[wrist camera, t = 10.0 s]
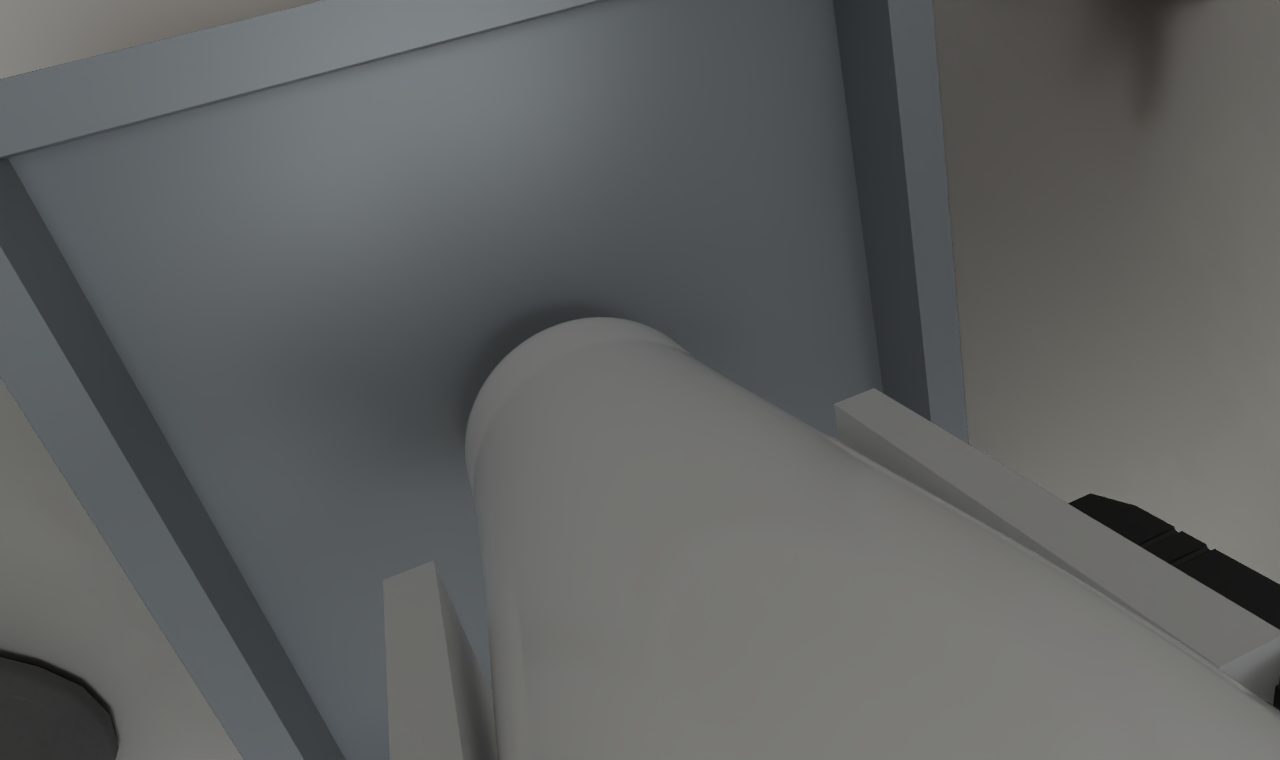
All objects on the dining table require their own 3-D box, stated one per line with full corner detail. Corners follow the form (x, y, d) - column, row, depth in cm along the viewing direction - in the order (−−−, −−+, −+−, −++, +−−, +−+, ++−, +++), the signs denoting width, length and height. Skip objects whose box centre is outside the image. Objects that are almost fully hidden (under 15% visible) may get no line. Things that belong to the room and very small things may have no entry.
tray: (835, -111, 17) (920, -147, 15) (915, 545, 25) (981, 601, 22) (-63, 112, 14) (-164, 118, 11) (338, 799, 21) (334, 901, 19)
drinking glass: (373, 336, 15) (447, 2272, 2) (698, 231, 16) (2157, 872, 3) (483, 611, 18) (841, 2183, 4) (754, 502, 19) (1654, 1460, 6)
